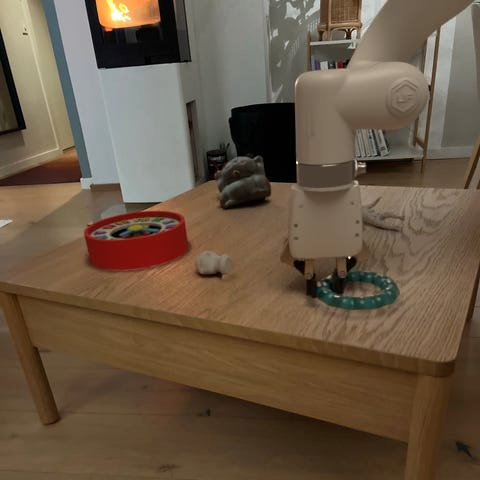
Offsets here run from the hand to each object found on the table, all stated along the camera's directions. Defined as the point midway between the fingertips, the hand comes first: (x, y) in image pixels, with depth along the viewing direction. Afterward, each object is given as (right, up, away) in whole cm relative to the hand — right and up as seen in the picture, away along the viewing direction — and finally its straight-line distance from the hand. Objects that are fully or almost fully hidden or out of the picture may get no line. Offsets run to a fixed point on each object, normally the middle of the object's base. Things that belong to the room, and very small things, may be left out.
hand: (324, 298), depth 71 cm
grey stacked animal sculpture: (-12, +28, +55) cm, 63 cm away
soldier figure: (+16, +17, +30) cm, 38 cm away
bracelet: (+5, +1, -1) cm, 5 cm away
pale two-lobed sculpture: (-17, +5, +12) cm, 22 cm away
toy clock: (-33, +11, +26) cm, 44 cm away
